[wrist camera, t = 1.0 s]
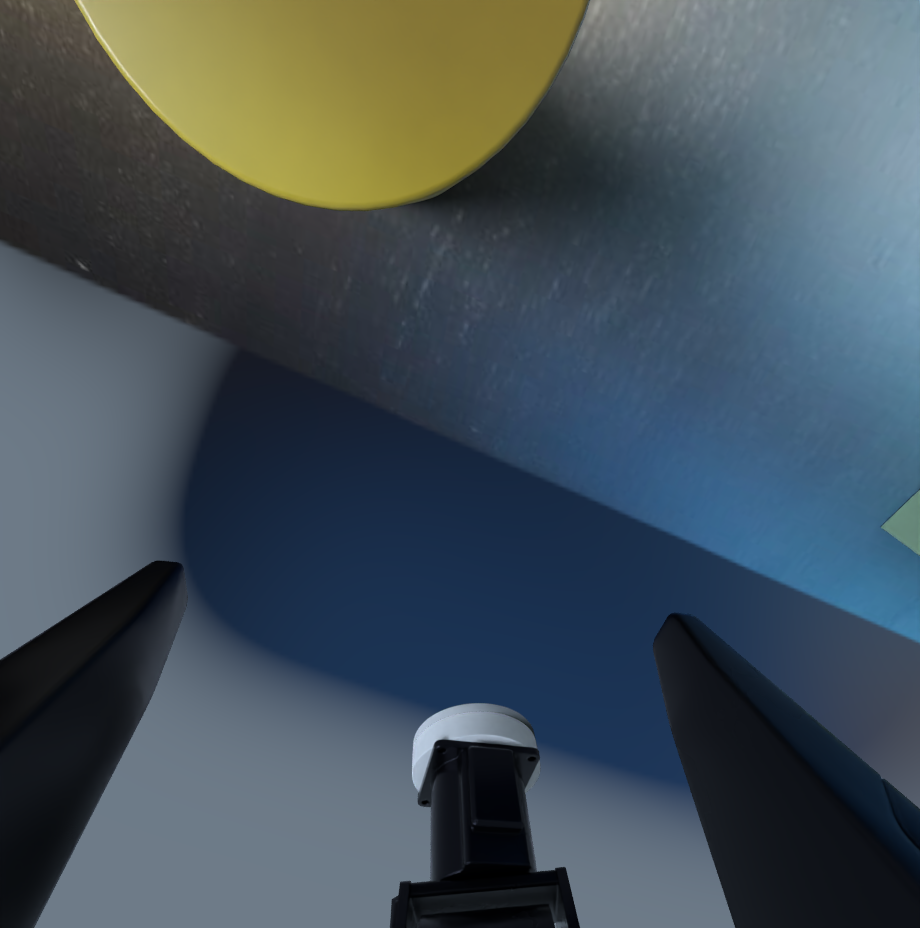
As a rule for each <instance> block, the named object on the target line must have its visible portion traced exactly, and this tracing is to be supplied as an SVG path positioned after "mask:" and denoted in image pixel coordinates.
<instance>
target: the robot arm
mask: <svg viewBox="0 0 920 928" xmlns="http://www.w3.org/2000/svg"><path fill="white" fill-rule="evenodd" d="M187 598H188V597H187V588H186V581H185V573H184V568H183V566H182V564H180V563H177V562H169V561H154V562H152V563H150V564H149V565H147V566H145V567H144V568H142V569H141V570H139V571H138V572H136V573H135V574H133V575H131V576H130V577H128V578H127V579H125V580H124V581H122V582H121V583H119V584H117V585H116V586H114V587H113V588H111V589H110V590H108V591H107V592H105V593H103V594H102V595H101V596H99V597H97V598H96V599H94V600H92V601H91V602H89V603H88V604H86V605H85V606H83V607H82V608H80V609H78V610H77V611H75V612H74V613H72V614H71V615H69V616H68V617H66V618H64V619H63V620H61V621H60V622H58V623H57V624H55V625H54V626H52V627H50V628H49V629H47V630H46V631H44V632H43V633H41V634H39V635H38V636H36V637H35V638H33V639H32V640H30V641H29V642H27V643H25V644H24V645H22V646H21V647H19V648H18V649H16V650H15V651H13V652H11V653H10V654H8V655H7V656H5V657H4V658H2V659H1V660H0V928H34V927H35V925H36V923H37V921H38V919H39V917H40V915H41V913H42V911H43V909H44V907H45V905H46V903H47V902H48V900H49V898H50V896H51V894H52V892H53V890H54V888H55V886H56V884H57V882H58V880H59V877H60V876H61V874H62V872H63V870H64V868H65V866H66V864H67V862H68V860H69V859H70V857H71V855H72V853H73V851H74V849H75V847H76V845H77V843H78V841H79V839H80V837H81V835H82V833H83V831H84V829H85V827H86V825H87V823H88V821H89V819H90V817H91V815H92V813H93V812H94V809H95V808H96V806H97V804H98V802H99V800H100V798H101V796H102V794H103V792H104V790H105V788H106V786H107V784H108V782H109V780H110V778H111V776H112V774H113V773H114V771H115V769H116V766H117V764H118V763H119V761H120V759H121V757H122V755H123V753H124V751H125V749H126V747H127V745H128V743H129V741H130V739H131V737H132V735H133V733H134V731H135V729H136V727H137V725H138V724H139V721H140V720H141V718H142V716H143V714H144V712H145V710H146V708H147V706H148V704H149V701H150V700H151V697H152V695H153V692H154V690H155V688H156V685H157V683H158V680H159V678H160V675H161V673H162V670H163V667H164V665H165V662H166V659H167V657H168V654H169V651H170V649H171V646H172V644H173V641H174V638H175V636H176V633H177V631H178V628H179V625H180V623H181V620H182V617H183V615H184V612H185V609H186V606H187ZM653 651H654V656H655V661H656V665H657V670H658V675H659V679H660V684H661V688H662V693H663V697H664V702H665V706H666V711H667V715H668V719H669V723H670V727H671V731H672V734H673V737H674V740H675V744H676V747H677V750H678V753H679V756H680V759H681V762H682V765H683V769H684V772H685V775H686V777H687V781H688V784H689V786H690V790H691V793H692V796H693V799H694V802H695V805H696V808H697V811H698V815H699V818H700V821H701V824H702V827H703V830H704V833H705V836H706V839H707V842H708V845H709V848H710V852H711V855H712V858H713V861H714V863H715V867H716V870H717V873H718V876H719V879H720V882H721V885H722V888H723V891H724V895H725V898H726V900H727V904H728V907H729V910H730V913H731V916H732V919H733V922H734V925H735V928H920V809H919V808H918V807H917V806H916V805H915V804H913V803H912V802H911V801H910V800H909V799H907V798H906V797H905V796H904V795H903V794H902V793H901V792H899V791H898V790H897V789H896V788H894V786H892V785H891V784H890V783H889V782H888V781H886V780H885V779H881V776H880V775H879V774H878V773H877V772H876V771H875V770H874V769H872V768H871V767H870V766H869V765H868V764H867V763H865V762H864V761H863V760H862V759H861V758H860V757H858V756H857V755H856V754H855V753H854V752H853V751H852V750H850V749H849V748H848V747H847V746H846V745H845V744H843V743H842V742H841V741H840V740H839V739H837V738H836V737H835V736H834V735H833V734H832V733H831V732H829V731H828V730H827V729H826V728H825V727H824V726H822V725H821V724H820V723H819V722H818V721H817V720H815V719H814V718H813V717H812V716H811V715H810V714H808V713H807V712H806V711H805V710H804V709H803V708H801V707H800V706H799V705H798V704H797V703H796V702H794V701H793V700H792V699H791V698H790V697H789V696H787V695H786V694H785V693H784V692H783V691H782V690H780V689H779V688H778V687H777V686H776V685H775V684H773V683H772V682H771V681H770V680H769V679H767V678H766V677H765V676H764V675H763V674H762V673H761V672H760V671H758V670H757V669H756V668H755V667H754V666H752V665H751V664H750V663H749V662H748V661H746V660H745V659H744V658H743V657H742V656H741V655H740V654H738V653H737V652H736V651H735V650H734V649H733V648H732V647H730V646H729V645H728V644H727V643H726V642H725V641H723V640H722V639H721V638H720V637H719V636H717V635H716V634H715V633H714V632H713V631H712V630H711V629H709V628H708V627H707V626H706V625H705V624H704V623H702V622H701V621H700V620H699V619H698V618H696V617H695V616H693V615H691V614H684V613H672V614H670V615H669V616H668V617H667V619H666V620H665V622H664V624H663V626H662V627H661V629H660V631H659V632H658V634H657V636H656V637H655V639H654V643H653ZM539 760H540V756H539V751H538V749H536V748H533V747H522V746H511V745H500V744H489V743H478V742H467V741H456V740H445V739H441V740H437V741H436V742H435V743H434V745H433V748H432V752H431V755H430V758H429V761H428V764H427V768H426V771H425V774H424V777H423V780H422V784H421V787H420V790H419V793H418V804H419V805H420V806H424V807H431V866H430V868H431V870H430V871H431V872H430V873H431V874H430V879H431V880H430V881H429V882H417V883H411V881H403V882H400V889H399V895H398V896H397V897H395V898H393V899H392V905H391V921H390V928H555V925H554V923H556V926H557V928H580V926H579V922H578V918H577V914H576V909H575V905H574V901H573V897H572V892H571V888H570V884H569V880H568V876H567V871H566V868H565V867H560V868H555V870H551V871H540V872H537V868H536V862H535V855H534V848H533V842H532V835H531V829H530V822H529V815H528V809H527V802H526V795H525V788H526V786H527V784H528V782H529V780H530V778H531V776H532V774H533V772H534V770H535V768H536V766H537V764H538V762H539Z"/></svg>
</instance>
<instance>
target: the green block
mask: <svg viewBox="0 0 920 928" xmlns="http://www.w3.org/2000/svg"><path fill="white" fill-rule="evenodd" d="M881 528H882V529H884V530H885V531H887V532H888V533H889V534H891V535H892V536H893V537H895V538H896V539H897V540H899V541H900V542H901V543H903V544H904V545H905V546H907V547H908V548H910V549H911V550H912V551H914V552H915V553H916V554H918V555H919V556H920V490H919V491H918V492H917V493H916V494H915V495H914V496H912V497H911V498H910V499H909V500H908V501H907V502H906V503H905V504H904V505H903V506H902V507H901V508H900V509H899V510H898V511H897V512H896V513H895V514H894V515H893V516H892V517H891V518H890V519H889V520H888V521H886V522H885V523H884V524H883V525H882V526H881Z"/></svg>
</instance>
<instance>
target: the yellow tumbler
mask: <svg viewBox="0 0 920 928" xmlns="http://www.w3.org/2000/svg"><path fill="white" fill-rule="evenodd" d="M75 2H76V4H77V5H78V7H79V9H80V10H81V12H82V14H83V16H84V17H85V19H86V21H87V22H88V24H89V26H90V28H91V29H92V31H93V33H94V34H95V36H96V38H97V40H98V41H99V43H100V44H101V45H102V47H103V48H104V50H105V51H106V52H107V54H108V55H109V57H110V58H111V60H112V61H113V62H114V64H115V65H116V67H117V68H118V69H119V71H120V72H121V74H122V75H123V76H124V78H125V79H126V80H127V81H128V83H129V84H130V85H131V86H132V87H133V88H134V90H135V91H136V92H137V93H138V94H139V95H140V97H141V98H142V99H143V100H144V101H145V102H146V104H147V105H148V106H149V107H150V108H151V109H152V111H153V112H154V113H155V114H156V115H157V116H159V117H160V118H161V119H162V120H163V121H164V122H165V123H166V124H167V125H168V126H169V127H170V128H171V129H172V130H173V131H174V132H175V133H176V134H177V135H178V136H179V137H180V138H182V139H183V140H184V141H185V142H186V143H188V144H189V145H190V146H192V147H193V148H194V149H195V150H197V151H198V152H199V153H201V154H202V155H203V156H204V157H206V158H207V159H208V160H210V161H211V162H212V163H214V164H215V165H217V166H218V167H220V168H222V169H223V170H225V171H227V172H228V173H230V174H232V175H233V176H235V177H237V178H238V179H240V180H241V181H243V182H245V183H247V184H249V185H252V186H254V187H256V188H258V189H260V190H263V191H265V192H267V193H269V194H271V195H274V196H276V197H280V198H283V199H286V200H289V201H293V202H296V203H299V204H302V205H306V206H312V207H318V208H324V209H330V210H343V211H369V210H377V209H385V208H393V207H398V206H402V205H407V204H411V203H415V202H420V201H424V200H427V199H431V198H433V197H435V196H438V195H440V194H442V193H443V192H445V191H446V190H448V189H450V188H451V187H453V186H454V185H456V184H457V183H459V182H460V181H462V180H463V179H465V178H466V177H468V176H469V175H471V174H472V173H474V172H475V171H477V170H478V169H479V168H481V167H482V166H483V165H484V164H485V163H487V162H488V161H489V160H490V159H491V158H492V157H494V156H495V155H496V154H497V153H498V152H499V151H501V150H502V149H503V148H504V147H505V146H506V145H507V144H508V143H509V141H510V140H511V139H512V138H513V137H514V136H515V135H516V134H517V133H518V132H519V130H520V129H521V128H522V127H523V126H524V125H525V124H526V123H527V122H528V120H529V119H530V117H531V116H532V114H533V113H534V112H535V110H536V109H537V107H538V106H539V105H540V103H541V102H542V100H543V99H544V98H545V96H546V95H547V93H548V92H549V90H550V88H551V87H552V85H553V83H554V81H555V79H556V78H557V76H558V74H559V72H560V70H561V68H562V67H563V65H564V63H565V61H566V59H567V58H568V56H569V53H570V51H571V48H572V46H573V44H574V41H575V39H576V37H577V34H578V32H579V30H580V27H581V25H582V22H583V20H584V18H585V15H586V12H587V8H588V5H589V2H590V0H75Z"/></svg>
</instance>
